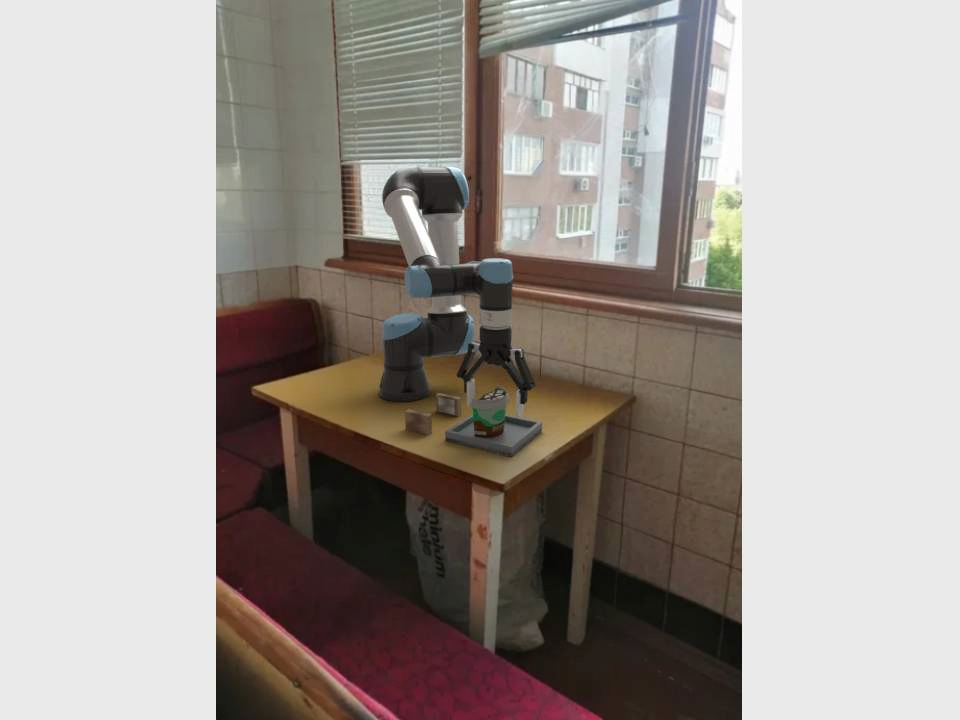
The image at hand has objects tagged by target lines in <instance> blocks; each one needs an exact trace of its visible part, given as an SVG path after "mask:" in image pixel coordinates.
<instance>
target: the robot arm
mask: <svg viewBox="0 0 960 720" xmlns="http://www.w3.org/2000/svg"><path fill="white" fill-rule="evenodd" d="M469 191H470V190H469V186H468V182H467V178H466V176H465V174H464V173H463V171H462V170H461V169H460V168H457V167H451V166H405V167H402V168H400V169H397V170H395V172H394V173H393V174H391V176H389V178H388V179H387V180H386V182H385V184H384V187H383V189H382V192H381V193H382V195H381V201H382V205H383V208H384V212H385V213H386V214H387V216H388V217H390V218H391V220H392V223H393V225H394V228H395V231H396V233H397V237H398V240H399V243H400V245H401V249H402V251H403V253H404V257H405V260H406V262H407V265H408V266H407V268H405V270H404V286H405V291H406V294H407V295H408V296H409V297H410V298H413V299H416V298H418V299H419V298H421V299H428V298H431V306H430V308H429V309H428V310H427V311H426V312H427V317H426V318H425V317H423V315H422V314H421V313H416V312H412V313H411V312H408V313H401V314H396V315H393V316H391V317H389V318H387V319H385V320H384V321H383V324H382V334H381V338H382V351H383V371H382V376H381V379H380V382H379V386H378V392H379V393H378V395H379V396H380V398H382V399H384V400H386V401H391V402H399V403H401V402H412V401H414V402H415V401H419V400H423V399H424V398H426V397H428V396H429V395H430V394H431V384H430V382H429V379H428V376H427V373H426V370H425V364H424V359H425V358H426V359H427V358H436V357H446V356H447V357H448V356H452V357H453V356H457V355H461V354H465V357H464V358H463V360H462V363H461V364H460V366H459V369H458V371H457V373H456V377H457V378H460V379H462V380H463V391H464V393H465V394H466V407H467V408H471V405H472V399H475V400H476V379H473V378H474V376H475V375H476V374H478V372H479V370H480V369H481V368H483V366H484V365H485V364H486V363H487V365H495V366H496V367H497V366H498V367H499V366H501V367H502V368H503V370H505V371H506V372H507V374H508V376H509V377H510V378H511V380H512V381H513V383H514V384H515V385H516V387H517V388H518V390H517V391H516V393H515V394H516V395H515V397H516V398H515V410H516V411H515V416H516V417H517V418H519V417H520V418H522V416H523V415H524V413H525V404H527V402H528V396H529V395H528V393H529V392H530V391H532V390H533V389H535V388H536V383H535V381H534V378H533V376H532V373H531V371H530V368H529V366H528V363H527V361H526V358H525V351H524V348H522V347H520V348H517V349H516V348H512V335H513V334H512V333H513V332H512V330H513V329H512V327H511V325H513V306H512V305H513V280H514V273H513V263H512V261H511V260H510V259H507V258H500V257H499V258H497V257H496V258H495V257H494V258H492V257H491V258H484V259H482V260H481V261H480V260H479V261H475V260H474V261H473V260H472V261H469V262H466V263H460V251H459V246H460V245H459V230H458V229H459V228H458V227H459V226H458V224H459V220H460V219H461V217H462V216H463V211H464V210H466V209H467V207H468V206H469V199H470V192H469ZM420 211H421V212H420ZM424 220H425V221H426V222H427V227H426V224H425V221H424ZM469 295H478V296H479V325H480V326H479V342H480V343H478V342H477V341H474V338H475V324H474V319H473V317H472V315H469V314H468V313H467V309H466V307H465V306H463V304H462V297H461V296H469ZM477 352H480V354H481V356H480V357H479V358H478V359H477V361H476V362H475V364H473V366H472V367H471V368H470V366H471V365H472V362H473V360H474V358H475V356H476V353H477ZM511 356H512V357H513V359H514V361H515V363H514V361H513V359H512V358H511ZM515 364H516V365H515ZM516 366H517V367H516ZM469 368H470V369H469ZM517 368H518V369H517ZM468 370H469V371H468ZM528 391H529V392H528Z"/></svg>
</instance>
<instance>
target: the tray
mask: <svg viewBox="0 0 960 720" xmlns="http://www.w3.org/2000/svg"><path fill="white" fill-rule="evenodd" d="M541 431H542V432H543V421H538V420H535V419H529V418H524V417H519V418H517V417H516V415H510V414H507V413H505V424H504V432H503V433H502V434H501V435H499V436H496V437H491V438H480V437H475V436H474V421H473V413H471V414H470V415H469V416H467V417H465V418H463V420H460V421H459V422H457V423H456V424H454V425H453V426H451V427H449V428H448V429H447V430H445V431H444V432H445V434H444V435H445V438H444V440H445V442H449V443H453V444H456V445H460V446H465V447H467V448H468V447H469V448H473V449H477V450H480V449H481V450H480V451H484V450H486V451H485V452H488V451H490V452H489V453H492V452H494V453H493V454H496V453H499V454H498V455H500V454H503V455H502V456H504V455H507V456H506V457H508V456H511V457H510V458H513V457H514V456H515V455H516V454H517V453H518V452H519V451H521V450H522V449H523V448H524V447H525V446H527V445H528V444H529V443H530V442H531V441H533V438H534V437H535V436H536V437H537V436H539V435H540V434H541V433H542V432H541ZM540 432H541V433H540ZM536 437H535V438H536ZM535 438H534V439H535ZM530 440H531V441H530ZM529 441H530V442H529ZM528 442H529V443H528ZM527 443H528V444H527ZM526 444H527V445H526ZM524 445H525V446H524ZM523 446H524V447H523ZM522 447H523V448H522ZM521 448H522V449H521ZM520 449H521V450H520ZM517 451H518V452H517ZM515 453H516V454H515ZM514 454H515V455H514ZM513 455H514V456H513Z"/></svg>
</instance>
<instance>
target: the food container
mask: <svg viewBox="0 0 960 720" xmlns="http://www.w3.org/2000/svg"><path fill="white" fill-rule="evenodd" d="M509 402H510V398H509V393H508V391H507V390H506V389H505V388H504V387H502V386H498V385H495V388H494V389H493V390H492V391H490V392H488V393H485V394H483V395H482V396H481V397H480V398H479V399H476V398H475V399H472V405H471V407H470V408H471V409H472V414H473V421H474V436H475V437H480V438H491V437H496V436H499V435H501V434H502V433H503V432H504V424H505V414H507V413H506V412H507V405H508V404H509Z"/></svg>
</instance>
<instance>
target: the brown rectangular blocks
mask: <svg viewBox="0 0 960 720" xmlns="http://www.w3.org/2000/svg"><path fill="white" fill-rule="evenodd" d="M435 402H436V404H435V405H436V407H435V409H436V410H435V411H436V412H437V413H440V414H443V415H444V414H445V415H448V416H452V417H453V416H454V417H460V416H462V397H460V396H455V395H451V394H446V393H441V392H438V393H436V394H435ZM432 419H433V417H432V414H431V413H427V412H423V411H419V410H414V409H411V408H408V409H406V410H405V411H404V422H405V424H404V426H405V430H406V431H410V432H414V433H419V434H421V435H422V434H423V435H426V436H429V435H431V434H433V424H432V423H433V421H432Z"/></svg>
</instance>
